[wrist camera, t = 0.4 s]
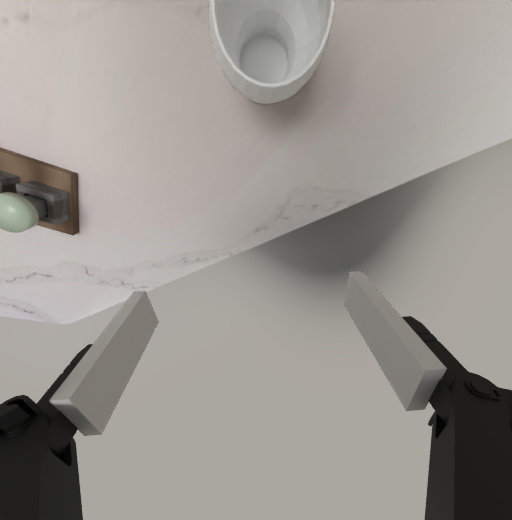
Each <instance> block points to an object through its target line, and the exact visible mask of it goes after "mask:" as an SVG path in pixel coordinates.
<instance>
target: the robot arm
mask: <svg viewBox="0 0 512 520" xmlns="http://www.w3.org/2000/svg"><path fill="white" fill-rule="evenodd" d="M345 307H346V309H347V311H348V312H349V314H350V316H351V318H352V319H353V321H354V323H355V324H356V326H357V328H358V330H359V331H360V333H361V335H362V336H363V338H364V340H365V341H366V343H367V345H368V347H369V348H370V350H371V352H372V353H373V355H374V357H375V359H376V360H377V362H378V363H379V365H380V367H381V369H382V370H383V372H384V374H385V376H386V377H387V379H388V381H389V382H390V384H391V386H392V387H393V389H394V391H395V393H396V394H397V396H398V398H399V400H400V401H401V403H402V405H403V406H404V408H405V410H406V411H411V410H424V409H425V408H426V406H427V404H428V402H430V404H431V405H432V407H433V408H434V410H435V412H434V414H433V415H432V417H431V419H430V420H429V423H428V425H429V426H432V424H433V426H432V438H431V450H430V463H429V475H428V487H427V498H426V510H425V520H512V390H508V389H503V388H499V387H497V386H495V385H494V384H493V383H492V382H490V381H489V380H487V379H485V378H483V377H481V376H480V375H477V374H474V373H470V372H468V371H467V370H466V369H465V368H464V367H463V366H462V365H461V364H460V363H459V362H458V361H457V360H456V358H455V357H453V355H452V354H451V353H450V352H449V351H448V350H447V349H446V348H445V347H444V346H443V345H442V344H441V343H440V342H439V341H437V339H436V338H435V337H434V336H433V335H432V334H431V333H430V331H429V330H428V329H427V328H426V327H425V326H424V325H423V324H422V323H420V322H419V321H417V320H416V319H414V318H413V317H411V316H409V317H401V316H400V315H399V313H398V312H397V311H396V310H395V309H394V308H393V307H392V305H391V304H390V303H389V302H388V301H387V300H386V299H385V297H384V296H383V295H382V294H381V293H380V292H379V291H378V289H377V288H376V287H375V286H374V285H373V284H372V283H371V282H370V280H369V279H368V278H367V277H366V276H365V275H364V274H363V272H362V271H359V272H349V278H348V285H347V293H346V299H345ZM158 322H159V321H158V319H157V317H156V314H155V312H154V310H153V307H152V305H151V303H150V300H149V298H148V296H147V293H146V291H138V292H133V294H132V295H131V296H130V297H129V299H128V300H127V301H126V303H125V304H124V305H123V307H122V308H121V309H120V311H119V312H118V313H117V314H116V315H115V317H114V318H113V319H112V321H111V322H110V323H109V324H108V326H107V327H106V328H105V330H104V331H103V332H102V333H101V335H100V336H99V337H98V339H97V340H96V341H95V342H94V344H89V345H87V346H86V347H85V348H84V349H83V350H81V351H80V352H79V353H78V354H77V355H76V356H75V358H74V359H73V360H72V361H71V362H70V365H68V366H67V367H66V369H65V370H64V371H63V373H62V374H61V375H60V376H59V377H58V378H57V380H56V381H55V382H54V383H53V385H52V386H51V387H50V388H49V389H48V391H47V392H46V393H45V394H44V395H43V397H42V398H41V399H40V400H39V402H38V403H37V404H36V403H35V402H34V401H32V400H31V399H30V398H29V397H28V396H25V395H21V396H16V397H13V398H11V399H9V400H7V401H5V402H4V403H2V404H0V520H83V516H82V505H81V494H80V484H79V473H78V463H77V452H76V443H75V440H74V438H73V436H74V434H75V433H76V431H77V429H78V430H79V431H80V432H81V433H82V434H83V435H84V436H87V435H101V434H102V433H103V431H104V429H105V427H106V425H107V423H108V421H109V419H110V417H111V415H112V413H113V411H114V409H115V407H116V405H117V403H118V401H119V399H120V397H121V395H122V393H123V391H124V389H125V387H126V385H127V383H128V382H129V379H130V378H131V376H132V374H133V372H134V370H135V368H136V366H137V364H138V362H139V360H140V358H141V356H142V354H143V352H144V350H145V348H146V346H147V344H148V342H149V340H150V338H151V336H152V334H153V332H154V330H155V328H156V326H157V324H158Z"/></svg>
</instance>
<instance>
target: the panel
mask: <svg viewBox="0 0 512 520" xmlns="http://www.w3.org/2000/svg"><path fill="white" fill-rule="evenodd" d="M5 192H12V193H16V194H19V195H21V196H26V195H32V196H36V197H39V198H42V199H45V200H47V210H48V215H45V216H42V217H39V221H38V223H37V225H39V226H42V227H46V228H49V229H53V230H56V231H60V232H63V233H67V234H70V235H75V234H77V233H79V217H78V180H77V173H75V172H72V171H69V170H66V169H63V168H60V167H57V166H54V165H51V164H48V163H45V162H42V161H39V160H36V159H33V158H30V157H27V156H24V155H21V154H18V153H15V152H12V151H9V150H6V149H3V148H0V193H5Z"/></svg>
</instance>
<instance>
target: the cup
mask: <svg viewBox="0 0 512 520" xmlns="http://www.w3.org/2000/svg"><path fill="white" fill-rule="evenodd" d="M334 7H335V0H210V2H209V29H210V34H211V39H212V44H213V49H214V52H215V55H216V57H217V59H218V62H219V64H220V67H221V69H222V71H223V74H224V75H225V77H226V78H227V80H228V81H229V82H230V84H231V85H232V87H233V88H234V89H235V90H236V91H238V92H239V93H240V94H241V95H242V96H244V97H245V98H247V99H249V100H251V101H253V102H256V103H261V104H272V103H276V102H281V101H284V100H285V99H287V98H289V97H291V96H292V95H294V94H295V93H296V92H297V91H298V90H299V89H300V88H301V87H302V86H303V85H304V84H305V83H306V82H307V81H308V80H309V79H310V78H311V76H312V75H313V73H314V72H315V70H316V68H317V67H318V65H319V64H320V62H321V59H322V56H323V54H324V51H325V48H326V46H327V43H328V38H329V34H330V29H331V24H332V18H333V13H334Z"/></svg>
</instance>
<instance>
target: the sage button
mask: <svg viewBox="0 0 512 520" xmlns="http://www.w3.org/2000/svg"><path fill="white" fill-rule="evenodd" d="M45 215H48V210H47V200H45V199H42V198H39V197H36V196H32V195H26V196H21V195H19V194H16V193H12V192H5V193H0V228H1V229H3V230H6V231H9V232H22V231H24V230H27V229H29V228H32V227H34V226H36V225H37V223H38V221H39V217H42V216H45Z"/></svg>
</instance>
